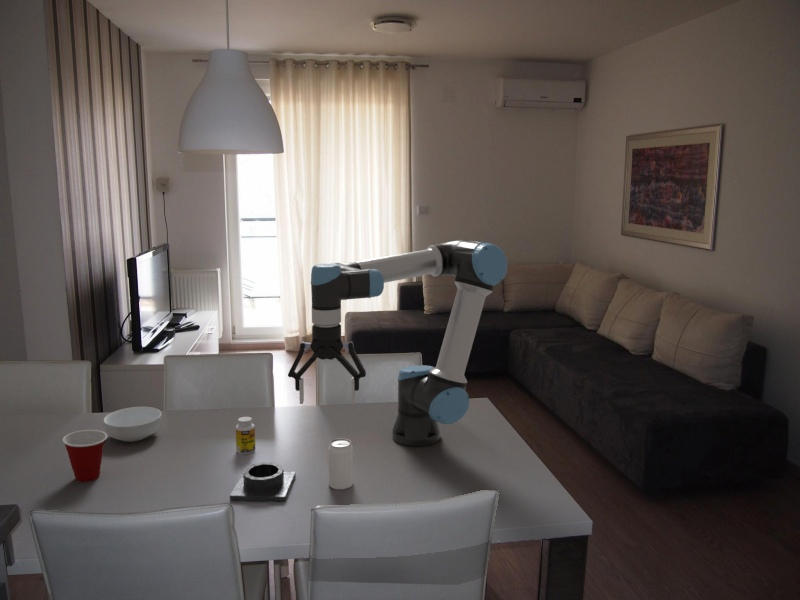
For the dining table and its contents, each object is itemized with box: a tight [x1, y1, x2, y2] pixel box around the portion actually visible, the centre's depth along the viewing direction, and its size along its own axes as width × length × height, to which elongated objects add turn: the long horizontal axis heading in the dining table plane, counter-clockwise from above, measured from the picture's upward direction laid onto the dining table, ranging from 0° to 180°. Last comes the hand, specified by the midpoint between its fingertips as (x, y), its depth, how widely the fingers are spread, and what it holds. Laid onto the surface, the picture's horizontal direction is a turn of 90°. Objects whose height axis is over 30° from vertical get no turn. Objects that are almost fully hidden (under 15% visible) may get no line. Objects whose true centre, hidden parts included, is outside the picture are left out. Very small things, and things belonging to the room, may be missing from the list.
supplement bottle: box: [235, 416, 256, 455], centre depth 188 cm, size 6×6×10 cm
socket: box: [229, 461, 297, 503], centre depth 166 cm, size 14×14×5 cm
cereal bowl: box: [103, 406, 163, 443], centre depth 198 cm, size 17×17×7 cm
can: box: [327, 438, 354, 491], centre depth 168 cm, size 6×6×12 cm
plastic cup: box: [62, 429, 108, 483], centre depth 170 cm, size 11×11×12 cm
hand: (327, 402), depth 167 cm, fingers open, 13 cm apart
